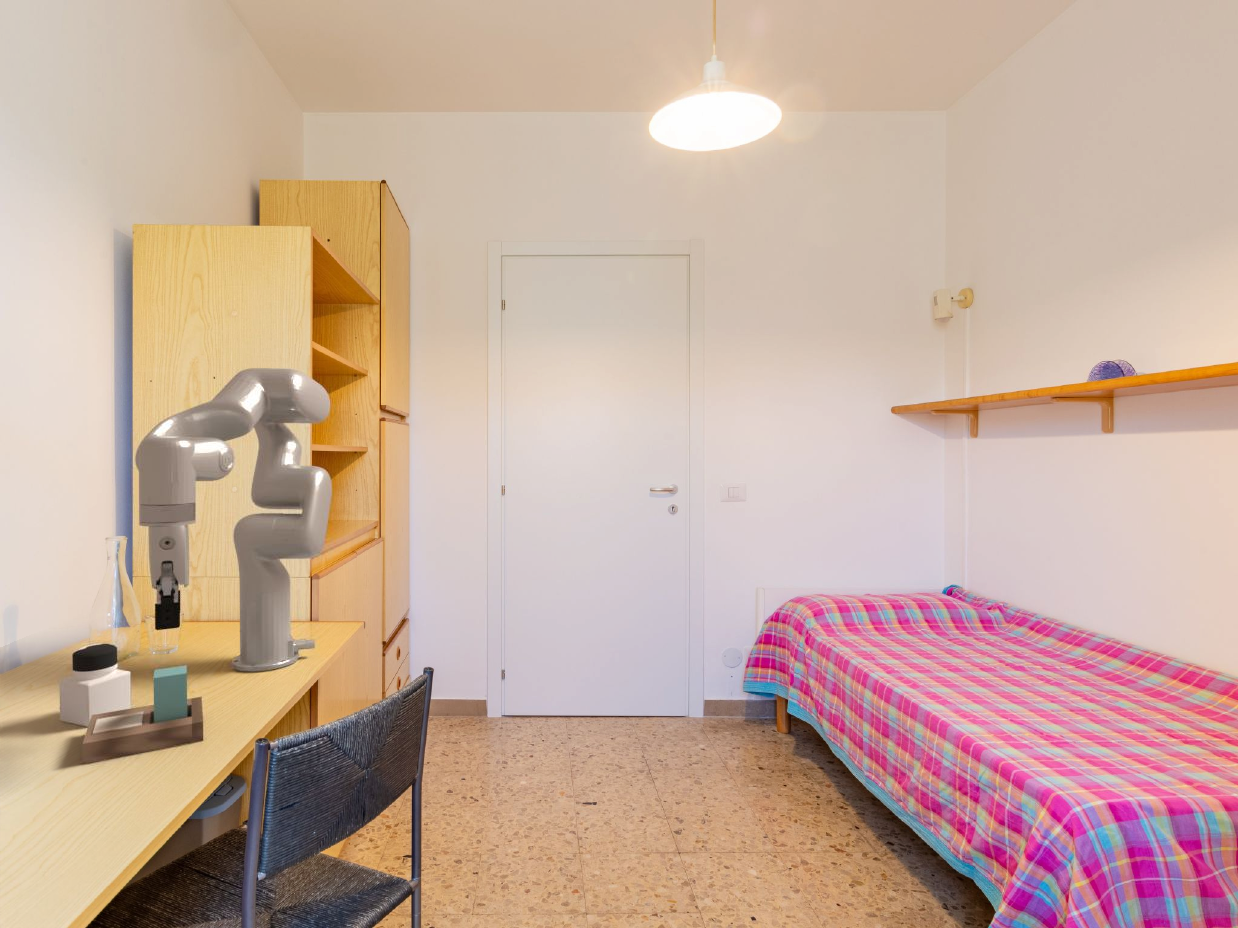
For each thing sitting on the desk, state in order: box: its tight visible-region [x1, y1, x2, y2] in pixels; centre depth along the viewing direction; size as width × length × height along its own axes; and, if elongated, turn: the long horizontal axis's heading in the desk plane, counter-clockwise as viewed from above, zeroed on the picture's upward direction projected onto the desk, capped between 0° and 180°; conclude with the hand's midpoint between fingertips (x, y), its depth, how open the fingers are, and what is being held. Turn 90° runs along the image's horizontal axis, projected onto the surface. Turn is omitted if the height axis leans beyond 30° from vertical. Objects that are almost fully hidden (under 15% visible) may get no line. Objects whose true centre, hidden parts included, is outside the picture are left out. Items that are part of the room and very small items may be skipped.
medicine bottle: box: [58, 643, 132, 728], centre depth 115 cm, size 7×7×12 cm
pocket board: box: [81, 696, 204, 765], centre depth 108 cm, size 15×12×3 cm
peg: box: [152, 664, 188, 723], centre depth 109 cm, size 4×4×10 cm
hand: (168, 621), depth 108 cm, fingers open, 9 cm apart
